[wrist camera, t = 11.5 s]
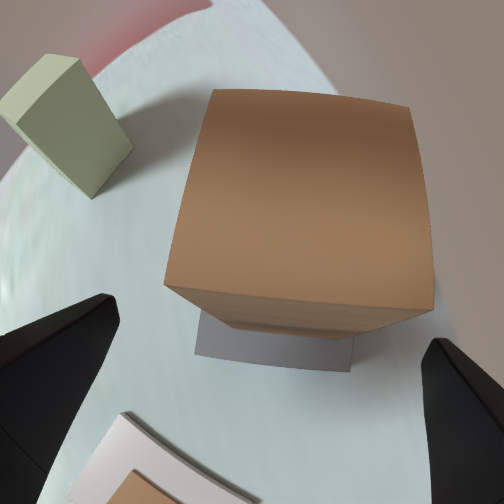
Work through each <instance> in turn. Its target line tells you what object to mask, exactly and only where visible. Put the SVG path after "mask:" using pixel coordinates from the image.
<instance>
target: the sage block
mask: <svg viewBox="0 0 504 504" xmlns="http://www.w3.org/2000/svg"><path fill="white" fill-rule="evenodd" d="M0 115H1V116H2V117H3V118H4V119H5V120H6V121H7V122H8V123H9V124H10V125H11V126H12V128H13V129H14V130H15V131H16V132H17V133H18V134H19V135H20V136H21V137H22V138H23V139H24V140H25V141H26V142H27V143H28V144H29V145H30V146H31V147H32V148H33V149H34V150H35V151H36V152H37V153H38V154H39V155H40V156H41V157H42V158H43V159H44V160H45V161H46V162H47V163H48V164H49V165H50V166H51V167H52V168H53V169H54V170H55V171H56V172H57V173H58V174H59V175H61V176H62V177H63V178H64V179H66V180H67V181H68V182H69V183H71V184H72V185H73V186H75V187H76V188H77V189H78V190H80V191H81V192H82V193H84V194H85V195H86V196H87V197H89V198H90V199H92V198H93V197H94V195H95V194H96V193H97V192H98V190H99V189H100V188H101V187H102V185H103V184H104V183H105V182H106V180H107V179H108V178H109V177H110V175H111V174H112V173H113V172H114V171H115V169H116V168H117V167H118V166H119V165H120V163H121V162H122V161H123V160H124V159H125V158H126V156H127V155H128V154H129V153H130V152H131V151H132V150H133V148H134V146H133V145H132V143H131V142H130V140H129V138H128V137H127V135H126V134H125V132H124V130H123V129H122V127H121V126H120V124H119V123H118V121H117V119H116V118H115V116H114V115H113V113H112V111H111V110H110V108H109V106H108V105H107V103H106V102H105V100H104V98H103V97H102V95H101V93H100V92H99V90H98V89H97V87H96V85H95V84H94V82H93V80H92V79H91V77H90V75H89V74H88V72H87V70H86V68H85V67H84V65H83V64H82V62H81V60H80V59H79V58H73V57H67V56H60V55H53V54H46V55H45V56H44V57H42V58H41V59H40V60H39V61H38V62H37V63H36V64H35V65H34V66H33V67H32V68H31V69H30V70H29V71H28V72H27V73H26V74H25V75H24V76H23V77H22V78H21V79H20V80H19V81H18V82H17V83H16V84H15V85H14V86H13V87H12V88H11V89H10V90H9V92H8V93H7V94H6V95H5V96H4V97H3V98H2V100H1V101H0Z"/></svg>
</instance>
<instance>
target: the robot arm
mask: <svg viewBox="0 0 504 504" xmlns="http://www.w3.org/2000/svg"><path fill="white" fill-rule="evenodd" d="M119 324H120V317H119V312H118V308H117V304H116V299H115V297H114V296H112V295H109V294H104V293H101V294H98V295H96V296H93V297H91V298H88V299H86V300H84V301H81V302H79V303H76V304H74V305H72V306H69V307H67V308H65V309H62V310H60V311H58V312H55V313H53V314H50V315H48V316H46V317H43V318H41V319H39V320H36V321H34V322H32V323H29V324H27V325H25V326H23V327H20V328H18V329H16V330H13V331H11V332H9V333H6V334H5V335H2V336H0V504H36V503H37V501H38V498H39V496H40V493H41V491H42V489H43V486H44V484H45V481H46V479H47V477H48V474H49V472H50V470H51V467H52V465H53V463H54V461H55V458H56V456H57V454H58V452H59V450H60V447H61V445H62V443H63V441H64V439H65V437H66V435H67V433H68V431H69V429H70V427H71V424H72V422H73V420H74V418H75V416H76V414H77V412H78V410H79V408H80V406H81V404H82V403H83V401H84V399H85V397H86V395H87V393H88V391H89V389H90V387H91V385H92V383H93V382H94V380H95V378H96V376H97V374H98V372H99V370H100V368H101V366H102V364H103V362H104V360H105V357H106V355H107V352H108V350H109V348H110V345H111V343H112V341H113V338H114V336H115V334H116V331H117V329H118V327H119ZM421 372H422V386H423V405H424V417H425V425H426V433H427V441H428V451H429V462H430V476H431V496H432V504H504V389H503V388H502V387H501V386H500V385H499V384H498V383H497V382H496V381H495V380H494V379H492V377H490V376H489V375H488V374H487V373H486V372H485V371H484V370H483V369H482V368H480V367H479V366H478V365H477V364H476V363H475V362H474V361H473V360H471V359H470V358H469V357H468V356H467V355H466V354H465V353H463V352H462V351H461V350H460V349H459V348H458V347H457V346H455V345H454V344H453V343H452V342H451V341H450V340H448V339H447V338H434V339H433V340H432V341H431V343H430V345H429V347H428V349H427V351H426V353H425V355H424V357H423V359H422V363H421Z"/></svg>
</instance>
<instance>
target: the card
mask: <svg viewBox="0 0 504 504" xmlns="http://www.w3.org/2000/svg"><path fill="white" fill-rule="evenodd" d="M66 496H67V497H68V498H69V499H70V500H71V501H72V502H73V503H74V504H253V502H252V501H251V500H249V499H247V498H245V497H243V496H241V495H240V494H238V493H236V492H234V491H233V490H231V489H229V488H227V487H226V486H224V485H222V484H221V483H219V482H217V481H216V480H214V479H213V478H211V477H209V476H208V475H206V474H205V473H203V472H202V471H200V470H199V469H197V468H196V467H194V466H193V465H191V464H190V463H188V462H187V461H185V460H184V459H182V458H181V457H180V456H178V455H177V454H175V453H174V452H173V451H171V450H170V449H169V448H167V447H166V446H165V445H163V444H162V443H161V442H159V441H158V440H157V439H155V438H154V437H153V436H152V435H150V434H149V433H148V432H147V431H145V430H144V429H143V428H142V427H141V426H139V425H138V424H137V423H136V422H135V421H133V420H132V419H131V418H130V417H129V416H128V415H126V414H125V413H124V412H123V413H119V415H118V416H117V418H116V419H115V421H114V422H113V424H112V425H111V427H110V428H109V430H108V432H107V433H106V435H105V436H104V438H103V439H102V441H101V442H100V444H99V445H98V447H97V448H96V450H95V451H94V453H93V454H92V456H91V458H90V459H89V461H88V462H87V464H86V465H85V467H84V468H83V470H82V471H81V473H80V475H79V476H78V478H77V479H76V481H75V482H74V484H73V485H72V487H71V489H70V490H69V492H68V493H67V495H66Z"/></svg>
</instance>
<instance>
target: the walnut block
mask: <svg viewBox="0 0 504 504" xmlns="http://www.w3.org/2000/svg"><path fill="white" fill-rule="evenodd" d="M431 242H432V241H431V229H430V220H429V211H428V203H427V195H426V189H425V181H424V175H423V170H422V164H421V158H420V154H419V148H418V143H417V139H416V135H415V130H414V125H413V121H412V117H411V114H410V109H409V107H404V106H400V105H394V104H389V103H384V102H378V101H373V100H366V99H360V98H353V97H346V96H338V95H330V94H320V93H310V92H298V91H282V90H258V89H213V92H212V96H211V99H210V102H209V105H208V108H207V111H206V115H205V118H204V121H203V125H202V128H201V131H200V135H199V138H198V142H197V145H196V149H195V152H194V156H193V159H192V163H191V167H190V171H189V174H188V178H187V182H186V186H185V190H184V194H183V198H182V202H181V206H180V210H179V214H178V218H177V223H176V227H175V231H174V236H173V240H172V245H171V250H170V254H169V259H168V264H167V269H166V274H165V279H164V285H165V286H167V287H168V288H170V289H171V290H173V291H174V292H176V293H177V294H179V295H180V296H182V297H183V298H185V299H186V300H188V301H190V302H191V303H193V304H194V305H196V306H197V307H199V308H201V309H202V310H204V311H205V312H207V313H209V314H210V315H212V316H213V317H215V318H217V319H218V320H220V321H222V322H223V323H225V324H226V325H228V326H230V327H231V328H233V329H239V330H247V331H255V332H264V333H273V334H282V335H292V336H303V337H315V338H328V339H345V338H348V337H352V336H355V335H359V334H362V333H366V332H369V331H372V330H376V329H379V328H382V327H385V326H388V325H391V324H394V323H397V322H400V321H403V320H406V319H409V318H412V317H415V316H418V315H421V314H424V313H426V312H429V311H432V310H434V277H433V256H432V243H431Z"/></svg>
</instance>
